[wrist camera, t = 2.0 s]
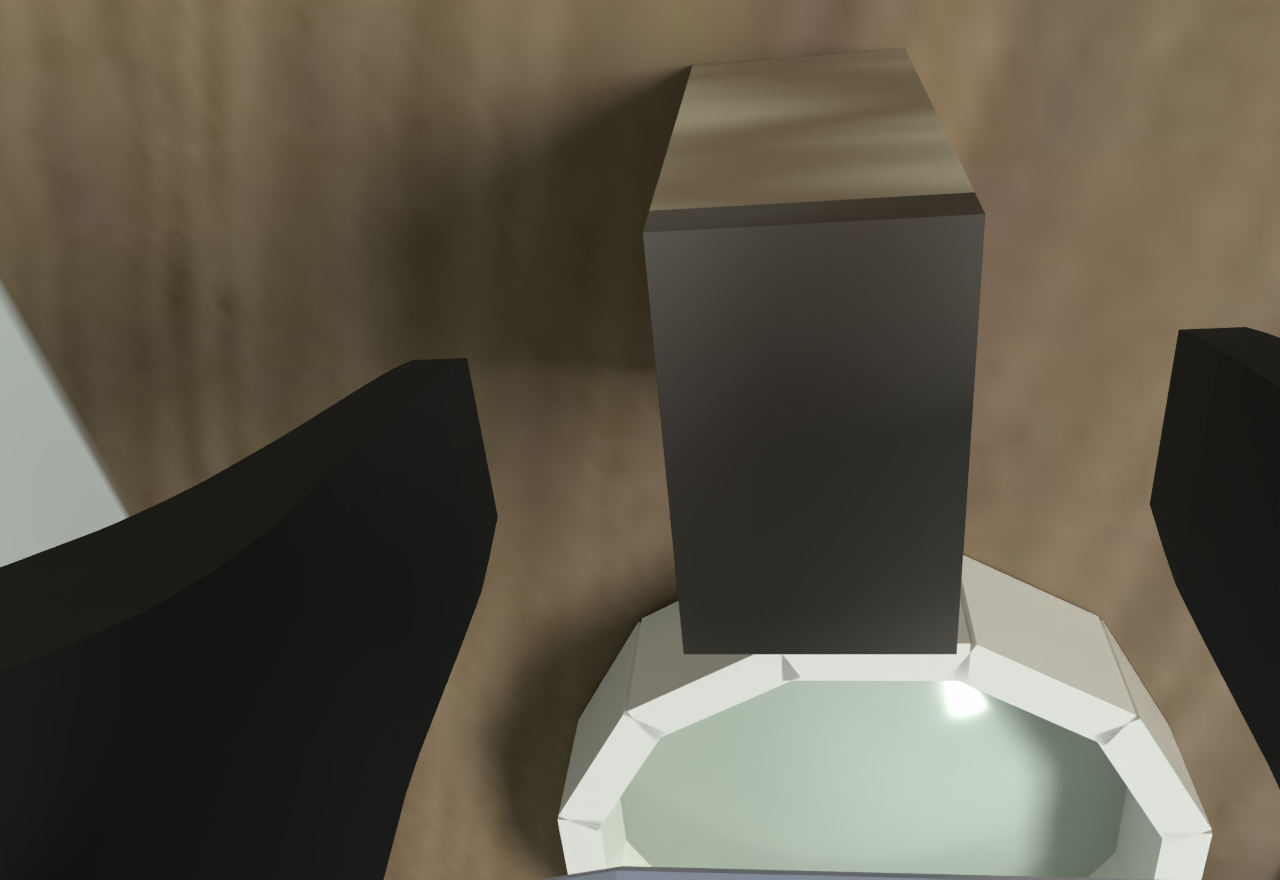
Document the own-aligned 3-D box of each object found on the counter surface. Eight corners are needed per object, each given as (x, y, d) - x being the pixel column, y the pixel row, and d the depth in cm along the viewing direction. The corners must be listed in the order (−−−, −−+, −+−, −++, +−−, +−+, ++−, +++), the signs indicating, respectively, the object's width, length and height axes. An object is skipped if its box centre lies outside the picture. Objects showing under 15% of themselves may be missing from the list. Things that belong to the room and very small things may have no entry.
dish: (1205, 547, 19) (1258, 642, 17) (1121, 964, 25) (1154, 1074, 23) (549, 555, 21) (524, 644, 19) (615, 945, 27) (601, 1047, 24)
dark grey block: (904, 48, 16) (984, 213, 10) (897, 366, 18) (957, 653, 12) (692, 64, 16) (643, 232, 10) (713, 372, 18) (683, 654, 12)
